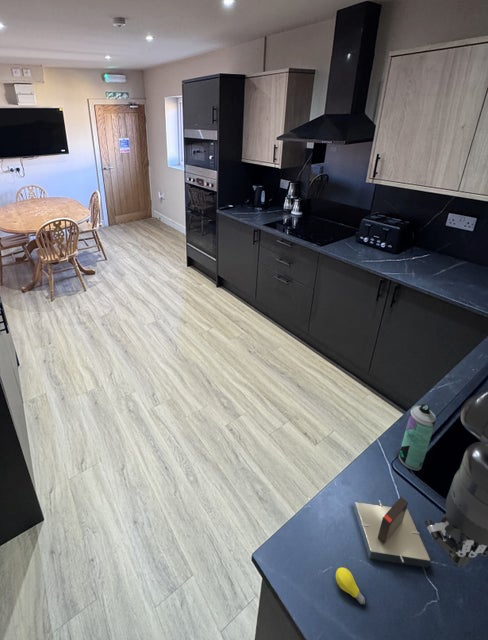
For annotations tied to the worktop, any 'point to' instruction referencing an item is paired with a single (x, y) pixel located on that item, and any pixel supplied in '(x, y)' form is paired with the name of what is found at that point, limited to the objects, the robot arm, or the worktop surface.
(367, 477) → the worktop surface
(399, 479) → the worktop surface
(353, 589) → the light bulb
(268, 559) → the worktop surface
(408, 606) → the worktop surface
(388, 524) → the brown rectangular block
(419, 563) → the panel
